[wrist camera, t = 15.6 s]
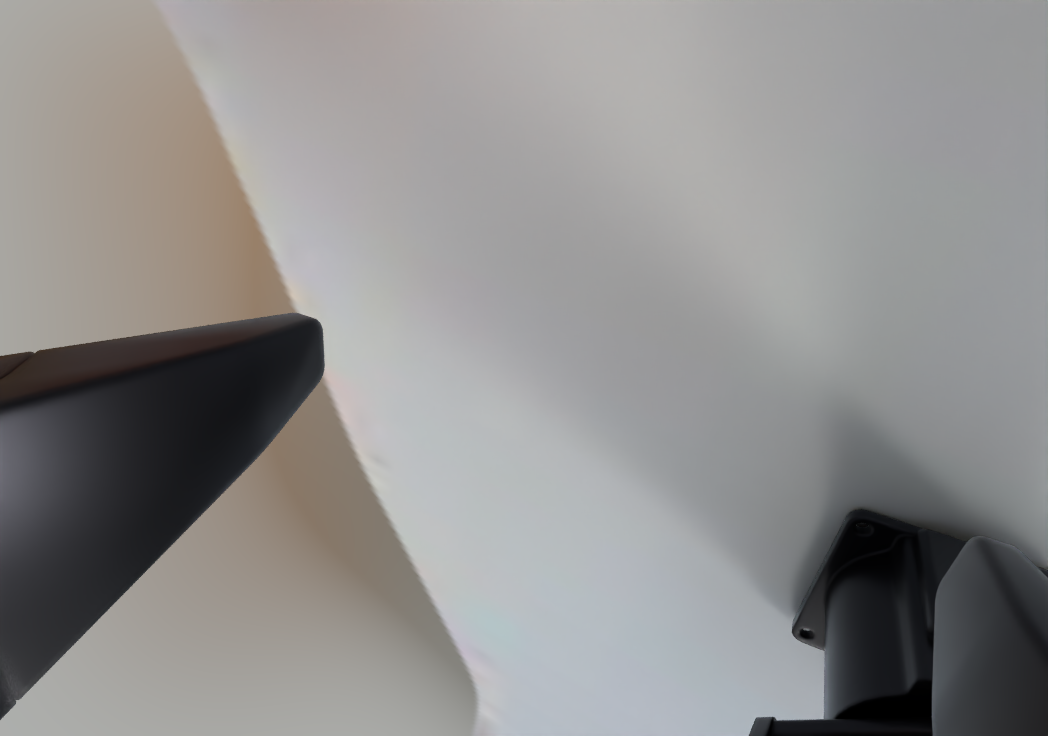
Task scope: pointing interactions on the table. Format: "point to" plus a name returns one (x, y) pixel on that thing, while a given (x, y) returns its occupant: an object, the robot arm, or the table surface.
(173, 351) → the robot arm
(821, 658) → the table surface
